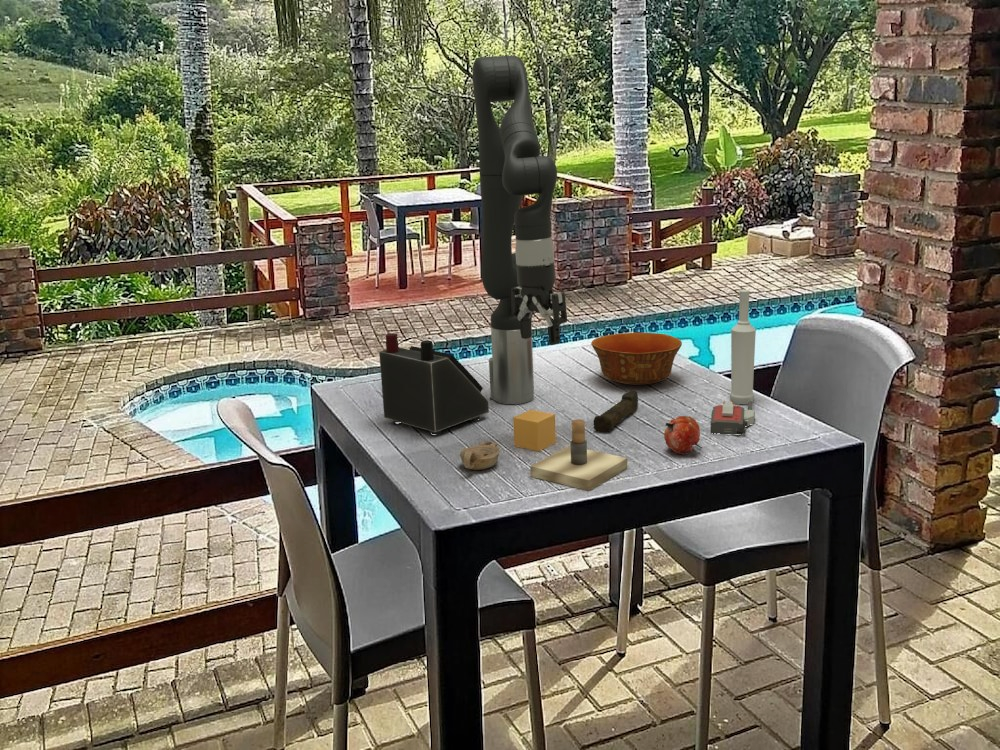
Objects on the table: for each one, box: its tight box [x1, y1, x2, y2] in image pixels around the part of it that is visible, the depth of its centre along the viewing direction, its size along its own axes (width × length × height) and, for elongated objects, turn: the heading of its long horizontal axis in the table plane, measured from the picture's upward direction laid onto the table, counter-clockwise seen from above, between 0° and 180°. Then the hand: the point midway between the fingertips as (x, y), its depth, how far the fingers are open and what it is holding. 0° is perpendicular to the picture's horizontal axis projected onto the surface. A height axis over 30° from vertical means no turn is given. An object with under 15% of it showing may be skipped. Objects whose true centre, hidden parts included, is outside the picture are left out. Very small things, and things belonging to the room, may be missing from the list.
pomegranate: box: [663, 415, 703, 455], centre depth 204 cm, size 7×7×10 cm
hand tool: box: [593, 389, 639, 434], centre depth 224 cm, size 19×4×5 cm, turn 148°
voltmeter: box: [378, 333, 490, 435], centre depth 226 cm, size 16×16×20 cm
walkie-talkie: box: [709, 400, 756, 435], centre depth 220 cm, size 9×4×20 cm
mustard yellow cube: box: [512, 409, 557, 452], centre depth 211 cm, size 6×6×6 cm
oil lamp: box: [459, 441, 500, 471], centre depth 201 cm, size 13×8×5 cm, turn 157°
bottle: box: [729, 289, 757, 405], centre depth 229 cm, size 5×5×25 cm
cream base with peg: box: [529, 418, 628, 491], centre depth 195 cm, size 13×13×10 cm
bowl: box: [590, 332, 683, 386], centre depth 250 cm, size 21×21×10 cm
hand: (540, 341), depth 211 cm, fingers open, 8 cm apart
